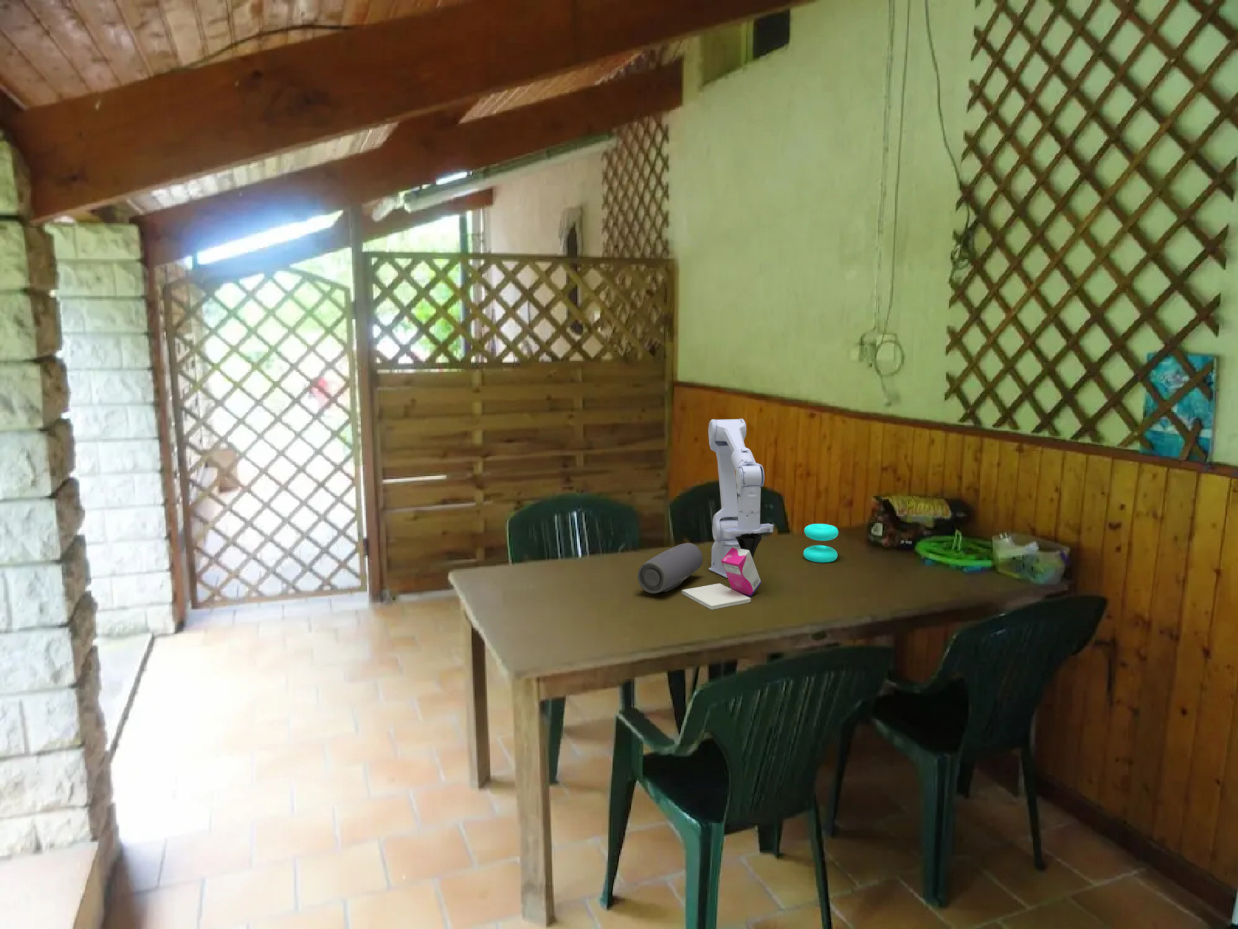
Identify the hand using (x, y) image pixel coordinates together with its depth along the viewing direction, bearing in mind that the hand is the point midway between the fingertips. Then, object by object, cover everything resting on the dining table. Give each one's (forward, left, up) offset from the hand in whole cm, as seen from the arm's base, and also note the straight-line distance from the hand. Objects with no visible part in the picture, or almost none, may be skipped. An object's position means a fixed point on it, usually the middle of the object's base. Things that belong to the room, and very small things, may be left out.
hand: (747, 561), depth 217 cm
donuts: (-15, +38, -9) cm, 42 cm away
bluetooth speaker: (-14, -15, -9) cm, 22 cm away
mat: (0, -10, -8) cm, 13 cm away
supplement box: (0, 0, -7) cm, 7 cm away
